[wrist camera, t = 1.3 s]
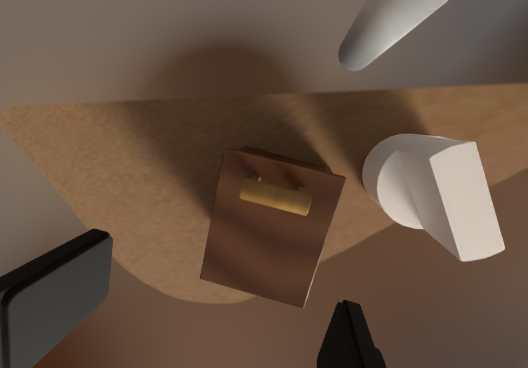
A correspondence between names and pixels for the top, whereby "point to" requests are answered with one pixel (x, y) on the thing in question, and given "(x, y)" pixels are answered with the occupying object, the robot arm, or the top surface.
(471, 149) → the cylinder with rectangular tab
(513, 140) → the top surface
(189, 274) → the top surface
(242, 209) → the compartment lid
